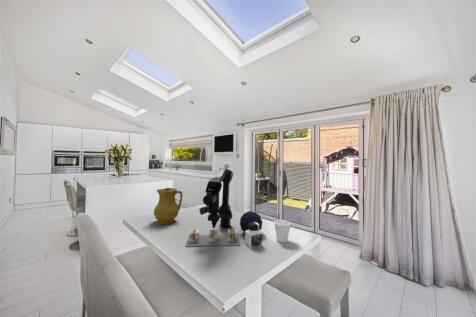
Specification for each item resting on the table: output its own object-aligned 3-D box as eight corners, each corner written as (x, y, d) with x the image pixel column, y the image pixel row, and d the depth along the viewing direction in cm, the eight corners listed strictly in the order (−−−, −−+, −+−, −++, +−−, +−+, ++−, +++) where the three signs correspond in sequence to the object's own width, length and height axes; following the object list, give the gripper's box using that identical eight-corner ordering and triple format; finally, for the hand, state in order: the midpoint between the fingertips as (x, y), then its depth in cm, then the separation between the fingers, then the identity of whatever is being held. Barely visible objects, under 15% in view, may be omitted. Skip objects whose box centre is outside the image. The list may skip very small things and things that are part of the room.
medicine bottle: (251, 248, 104) (251, 226, 104) (244, 242, 110) (245, 222, 110) (261, 245, 107) (262, 224, 107) (255, 240, 114) (255, 220, 113)
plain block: (217, 237, 115) (218, 229, 115) (217, 241, 110) (217, 232, 110) (209, 238, 114) (209, 229, 114) (208, 241, 109) (209, 233, 109)
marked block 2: (236, 237, 116) (236, 229, 116) (236, 241, 111) (237, 232, 111) (227, 237, 115) (228, 229, 115) (228, 241, 110) (228, 232, 110)
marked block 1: (199, 238, 114) (199, 229, 114) (198, 242, 109) (198, 233, 109) (190, 238, 113) (190, 229, 113) (189, 242, 108) (189, 233, 108)
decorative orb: (267, 223, 128) (254, 204, 131) (265, 231, 114) (250, 210, 116) (251, 234, 131) (238, 215, 134) (246, 243, 117) (232, 222, 119)
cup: (291, 238, 117) (291, 220, 117) (290, 245, 108) (290, 226, 108) (274, 236, 120) (275, 218, 120) (272, 242, 111) (272, 224, 111)
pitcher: (161, 216, 153) (162, 185, 152) (183, 219, 150) (185, 188, 149) (148, 224, 136) (149, 190, 135) (172, 228, 133) (174, 192, 132)
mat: (237, 235, 120) (237, 234, 120) (240, 245, 106) (240, 244, 106) (189, 236, 118) (189, 235, 118) (185, 246, 104) (185, 245, 104)
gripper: (201, 198, 121) (201, 222, 121) (198, 205, 102) (197, 234, 102) (219, 198, 122) (219, 222, 122) (219, 205, 103) (218, 234, 103)
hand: (213, 228), depth 112 cm, fingers closed
